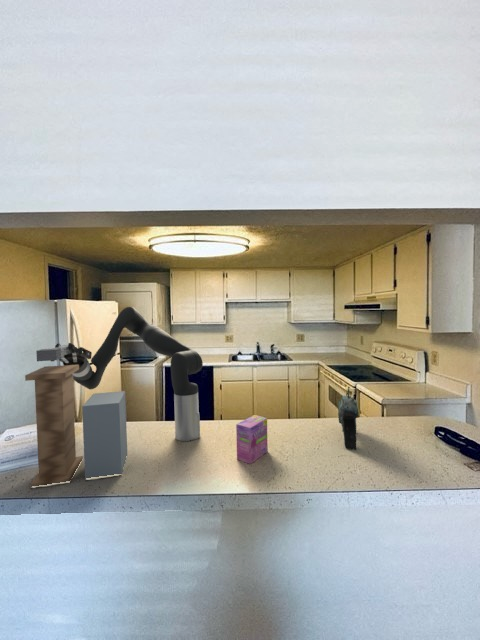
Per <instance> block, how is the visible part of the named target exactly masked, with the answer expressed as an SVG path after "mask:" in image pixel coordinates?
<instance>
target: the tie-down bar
mask: <svg viewBox="0 0 480 640" xmlns="http://www.w3.org/2000/svg"><path fill="white" fill-rule="evenodd" d="M69 353H71V352H70V351H69V349H68V344H62V345H61V346H59V347H56V348H55V347H54V348H41V349H38V350H36V362H48V361H49V362H52V361H51V360H55V361H59V360H58V359H61V357H62V356H65V355H67V354H69Z"/></svg>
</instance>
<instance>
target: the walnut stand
mask: <svg viewBox="0 0 480 640" xmlns="http://www.w3.org/2000/svg"><path fill="white" fill-rule="evenodd" d="M77 370H79V365H63V364H62V365H52V366H51V365H50V366H49V365H48V366H43V367H40V368H38V369H36V370H34V371H31V372H29V373H27V374H24V378H25V382H26V381H28V382H29V381H34V396H35V398H34V399H35V417H36V437H37V438H36V439H37V442H36V443H37V444H36V445H37V461H38V462H37V464H38V467H37V468H38V473H37V474H36V476H35V477H34V478H33V480H32V481H31V482H30V483H29V488H30V487H32V486H39V485H47V484H52V483H60V482H66V481H70V480H71V478H72V477H73V475H74V473H75V471H76V469H77V468H78V466H79V464H80V462H81V461H82V459H83V460H84V455H81V456H77V455H76V453H77V452H76V433H75V432H76V431H75V430H76V429H75V427H76V426H75V407H74V403H75V402H74V382H73V381H74V379H73V375H72V373H74V372H75V371H77ZM82 462H83V461H82ZM79 467H80V466H79ZM78 469H79V468H78ZM75 474H76V473H75ZM74 476H75V475H74ZM73 478H74V477H73Z"/></svg>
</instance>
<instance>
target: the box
mask: <svg viewBox="0 0 480 640" xmlns="http://www.w3.org/2000/svg"><path fill="white" fill-rule="evenodd" d="M235 427H236V428H235V429H236V432H235V433H236V459H237V460H239V461H240V460H241V461H240V462H243V461H244V462H243V463H246V464H248V465H251V464H253V462H255V461H256V460H258V459H259V458H261V457H262V456H263V455H265V454H266V453H267V452H268V418H267V417H264V416H260V415H257V414H253V415H252V416H249V417H247V418H246V419H244V420H242V421H240V422H237V423H236V426H235Z"/></svg>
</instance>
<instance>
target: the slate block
mask: <svg viewBox="0 0 480 640" xmlns="http://www.w3.org/2000/svg"><path fill="white" fill-rule="evenodd" d="M126 405H127V402H126V390H122V391H120V390H119V391H109V392H95V393H92V394H91V396H90V397H89V398H88V399H87V400H86V401H85V402H84V403H83V405H82V406H81V409H82V410H81V412H82V433H83V434H82V435H83V436H82V438H83V463H84V466H83V467H84V480H85V479H86V478H91V477H99V476H107V475H114V474H122V475H123V473H122V471H123V472H124V470H123V467H124V468H125V466H124V464H125V465H126V462H125V460H126V461H127V458H126V456H127V457H128V432H127V407H126Z"/></svg>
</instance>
